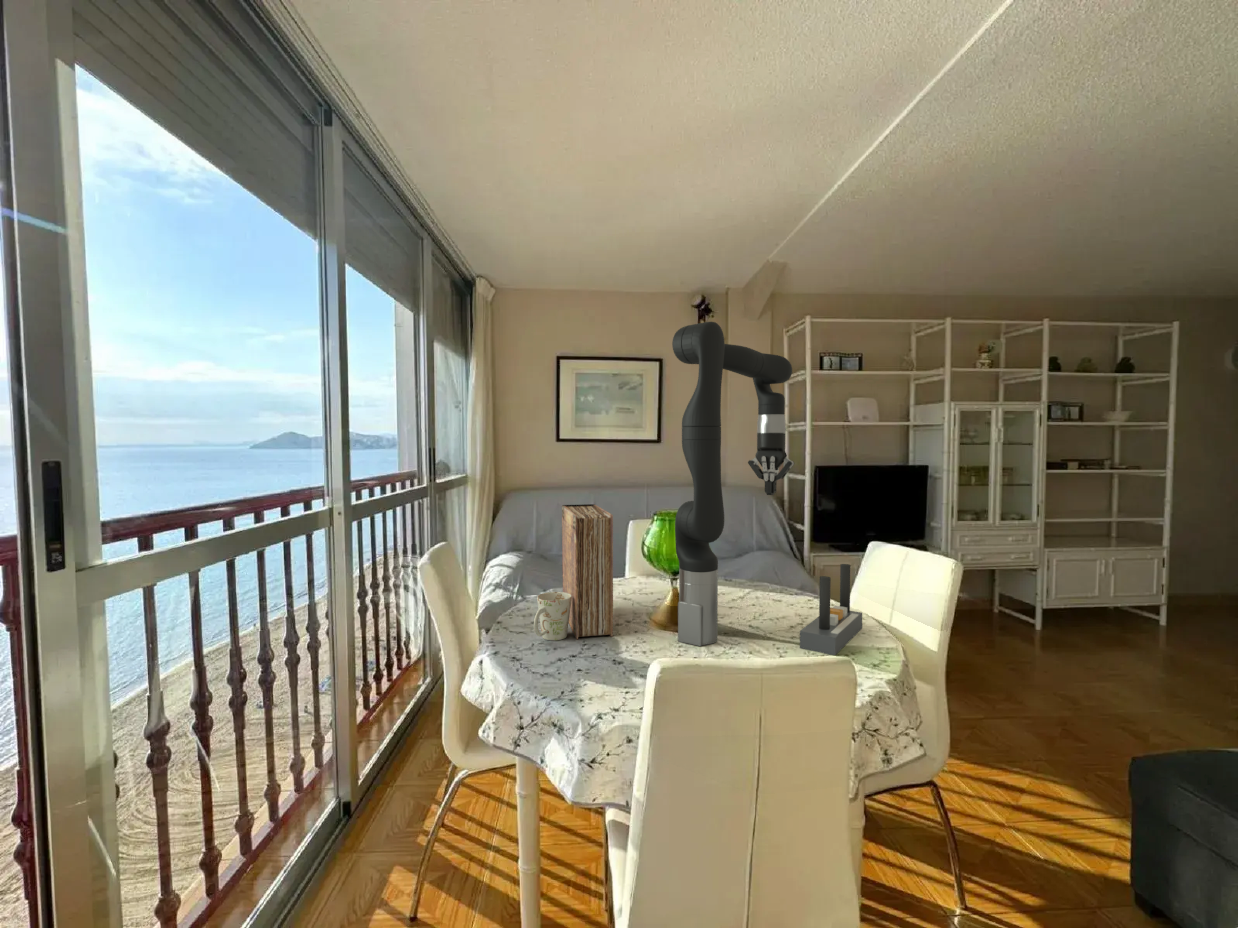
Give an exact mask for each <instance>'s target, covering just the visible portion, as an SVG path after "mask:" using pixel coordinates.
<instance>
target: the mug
mask: <svg viewBox="0 0 1238 928" xmlns="http://www.w3.org/2000/svg"><path fill="white" fill-rule="evenodd" d="M536 600H537V608H538V609H537V611H536V614H535V616H534V619H533V629H534V633H535V636H538V637H542V639H544V640H546V641H560V640H564V639H566V638H567V637H568V630H569V615H570V607H571V595H570V594H568V593H564V592H563V591H550V592H544V593H540V594H538V595H537V598H536ZM538 623H540V624H538ZM538 625H540V629H541V631H540V630H539V626H538Z"/></svg>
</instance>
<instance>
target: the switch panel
mask: <svg viewBox="0 0 1238 928" xmlns="http://www.w3.org/2000/svg"><path fill="white" fill-rule="evenodd" d="M832 608H834V609H840V610H843V618H842V619H841V620H838V615H835V614H830V629H829V630H822V629H820V628H819V616H818V617H816V618H815V619H814V620H812V621H811V622H809V624H806V626H804V627H802V628H801V630H799V649H803V650H807V651H813V652H817V653H821V654H825V655H826V654H827V655H831V656H836V655H837V654H838V653H839V652H840V651H841V650H842V649H843V648H844V647H845V646H846V645H847V644H848V643H849V642H850V641H851V640H852V639H853V638H854V637H855V636H856V635H857V634H858V633H859V632H860V631H861V630H862V629H863V612H861V611H860V612H859V611H854V610H850V612H848V613H847V607H841V606H840V605H833V606H832Z"/></svg>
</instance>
